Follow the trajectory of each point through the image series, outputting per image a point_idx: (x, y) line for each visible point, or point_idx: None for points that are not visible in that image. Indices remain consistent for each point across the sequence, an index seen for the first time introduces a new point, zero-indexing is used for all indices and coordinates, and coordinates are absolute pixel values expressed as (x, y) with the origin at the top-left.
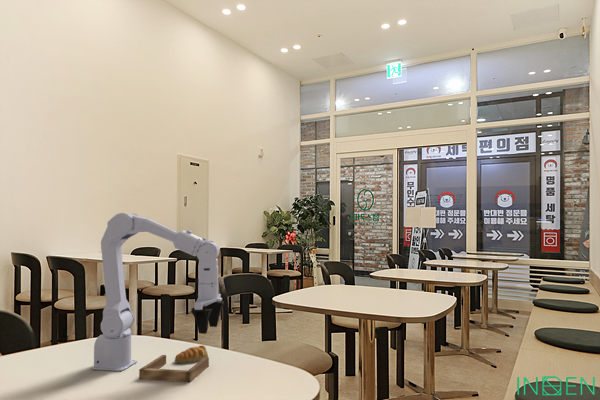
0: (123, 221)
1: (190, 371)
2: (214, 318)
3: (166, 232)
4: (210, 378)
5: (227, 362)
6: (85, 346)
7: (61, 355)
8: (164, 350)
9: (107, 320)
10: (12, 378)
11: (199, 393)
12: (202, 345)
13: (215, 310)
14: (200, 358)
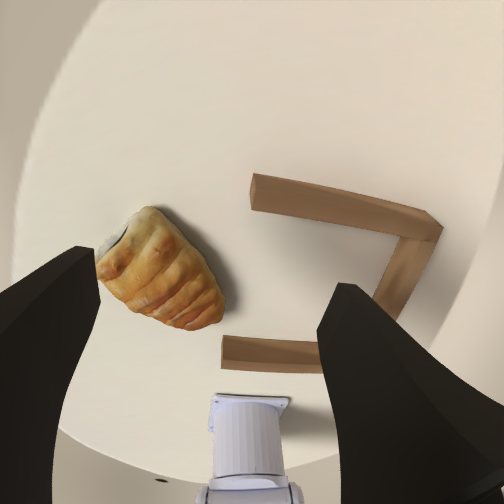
0: None
1: (436, 229)
2: (57, 324)
3: None
4: (405, 141)
5: (194, 91)
6: (133, 453)
7: (188, 463)
8: (97, 361)
9: None
10: (295, 464)
11: (497, 168)
12: (108, 265)
13: (11, 398)
14: (179, 234)
